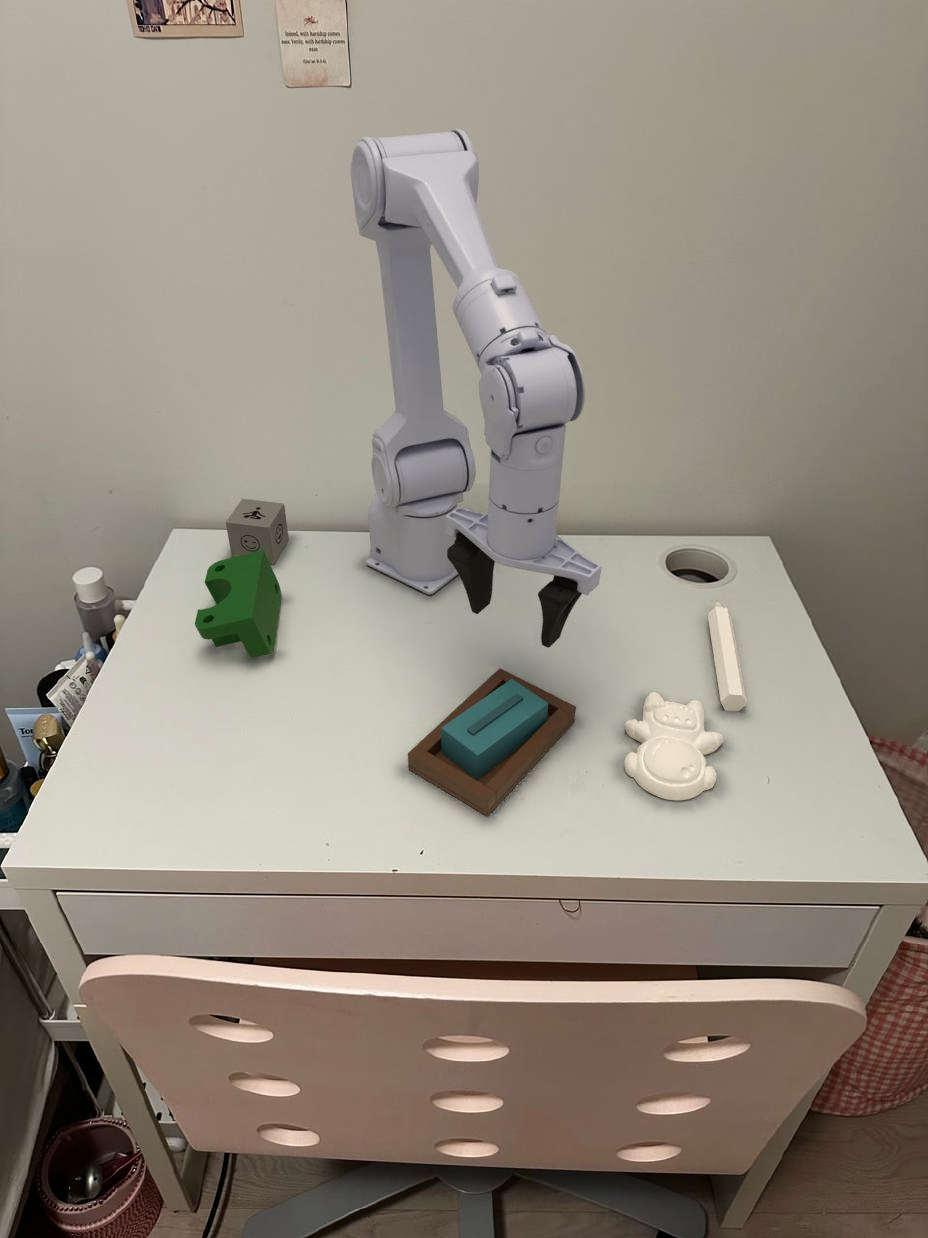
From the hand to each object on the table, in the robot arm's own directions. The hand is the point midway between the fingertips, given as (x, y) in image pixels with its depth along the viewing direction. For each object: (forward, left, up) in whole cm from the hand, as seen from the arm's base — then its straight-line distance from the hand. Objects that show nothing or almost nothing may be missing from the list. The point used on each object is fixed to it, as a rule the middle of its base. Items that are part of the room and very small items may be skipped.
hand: (515, 623), depth 84 cm
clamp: (-27, -9, -9) cm, 30 cm away
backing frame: (+3, -7, -9) cm, 11 cm away
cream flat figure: (+16, +3, -9) cm, 18 cm away
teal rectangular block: (+3, -7, -8) cm, 11 cm away
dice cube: (-36, +2, -9) cm, 37 cm away
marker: (+14, +18, -9) cm, 24 cm away
